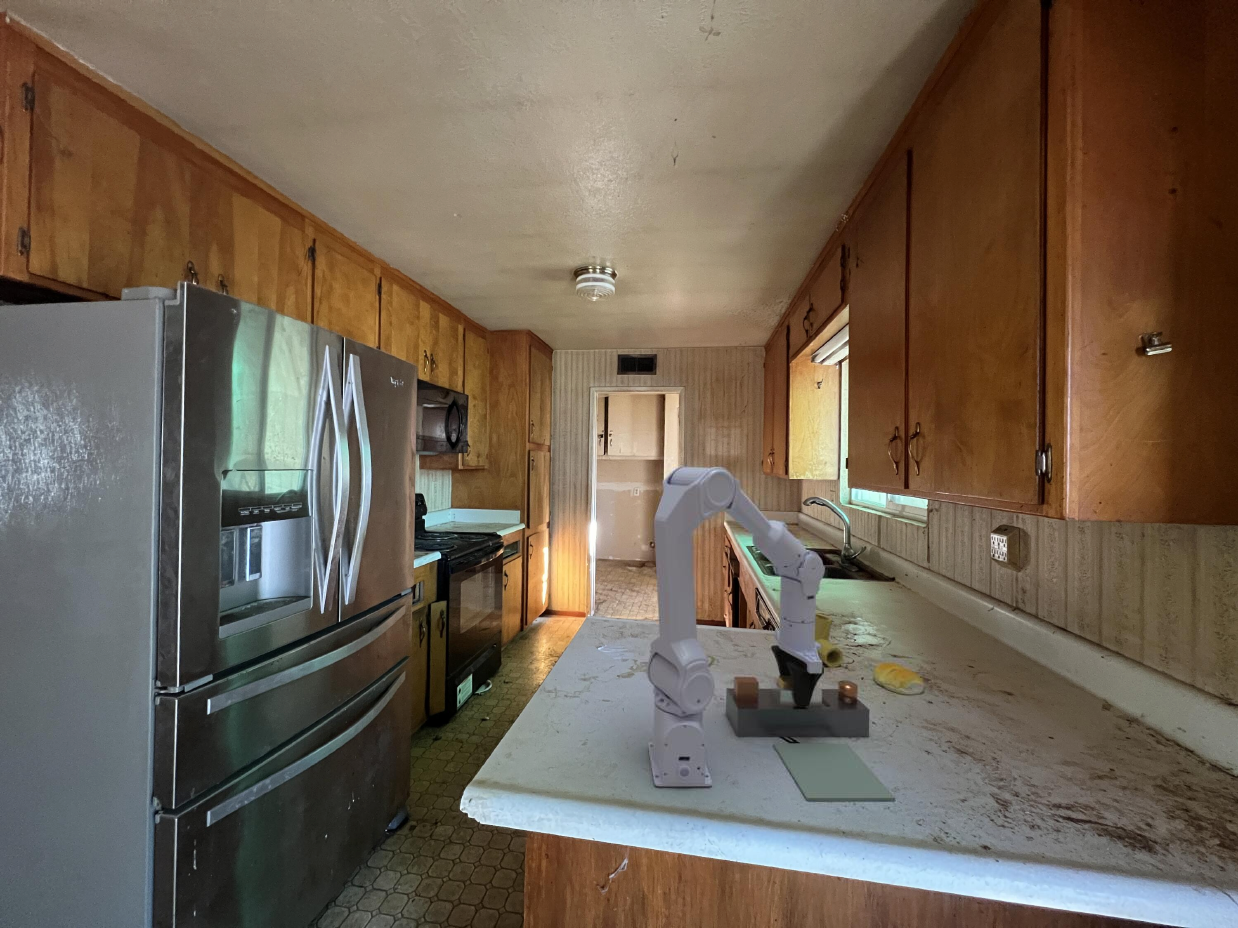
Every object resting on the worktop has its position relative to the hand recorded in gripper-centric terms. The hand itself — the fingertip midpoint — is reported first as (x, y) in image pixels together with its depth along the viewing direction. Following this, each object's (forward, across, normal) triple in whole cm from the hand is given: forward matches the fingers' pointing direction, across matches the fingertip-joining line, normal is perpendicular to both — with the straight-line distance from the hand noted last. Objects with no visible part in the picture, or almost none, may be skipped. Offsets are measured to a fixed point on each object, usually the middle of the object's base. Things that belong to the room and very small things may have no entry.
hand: (795, 696), depth 79 cm
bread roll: (+5, +15, -28) cm, 32 cm away
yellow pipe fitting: (+5, +29, -16) cm, 33 cm away
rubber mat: (+5, -12, 0) cm, 13 cm away
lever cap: (0, 0, 0) cm, 0 cm away
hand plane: (+5, 0, 0) cm, 5 cm away
